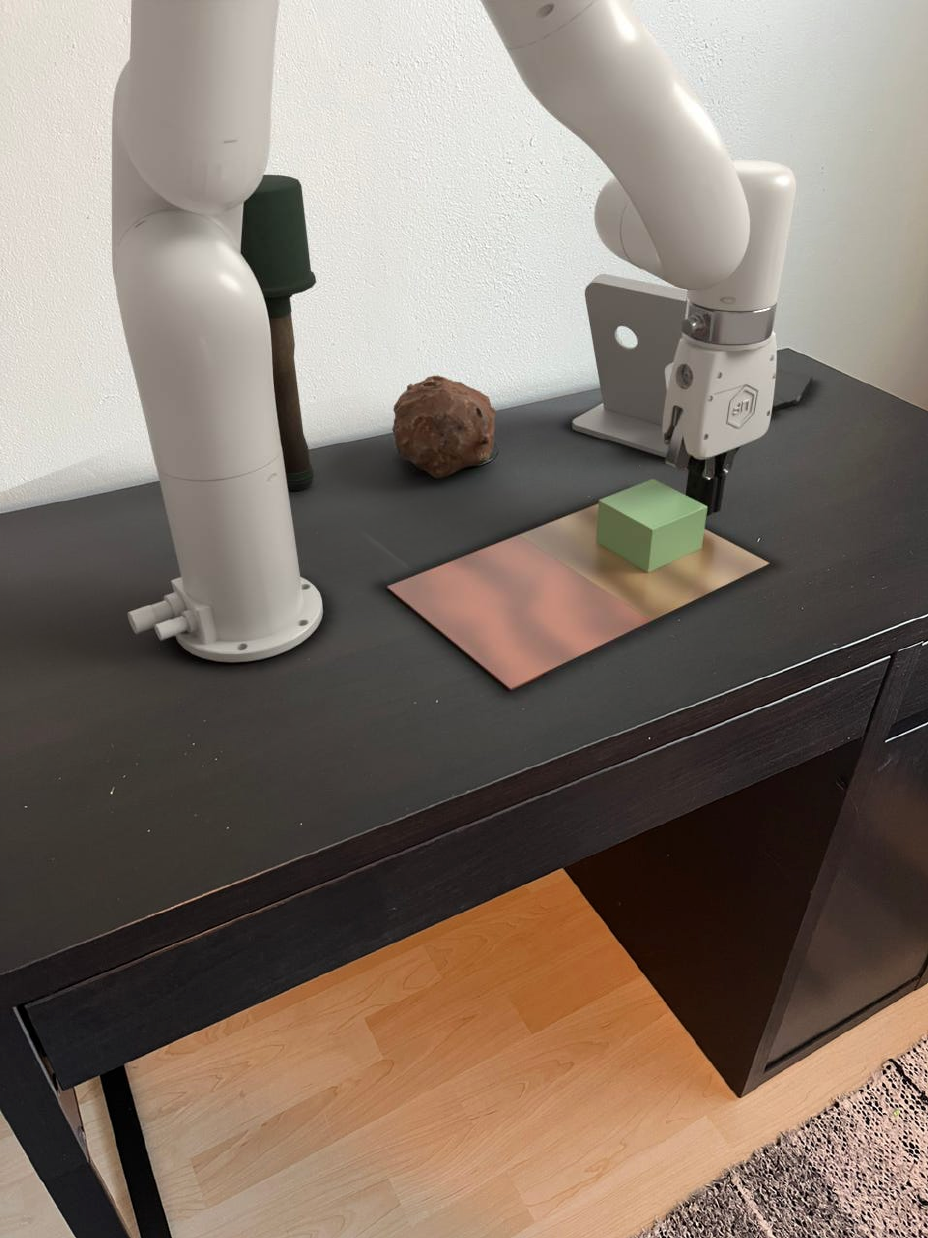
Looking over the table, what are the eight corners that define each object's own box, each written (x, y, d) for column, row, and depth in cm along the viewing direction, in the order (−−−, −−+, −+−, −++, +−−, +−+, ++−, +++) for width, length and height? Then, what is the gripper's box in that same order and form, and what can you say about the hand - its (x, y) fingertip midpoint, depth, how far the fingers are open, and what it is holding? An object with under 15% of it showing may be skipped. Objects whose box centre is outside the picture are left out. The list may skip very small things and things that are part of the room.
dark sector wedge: (717, 408, 117) (719, 395, 116) (750, 371, 127) (752, 359, 126) (786, 420, 114) (789, 408, 113) (814, 382, 123) (816, 370, 122)
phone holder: (741, 438, 110) (767, 278, 99) (697, 469, 104) (720, 302, 93) (614, 401, 119) (625, 251, 109) (566, 428, 113) (573, 272, 103)
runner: (510, 690, 74) (510, 688, 74) (386, 588, 86) (386, 586, 86) (769, 564, 88) (769, 562, 88) (631, 491, 100) (631, 490, 100)
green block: (647, 573, 87) (652, 529, 84) (595, 541, 91) (598, 499, 89) (701, 548, 90) (707, 506, 87) (648, 519, 95) (652, 478, 92)
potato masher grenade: (344, 467, 106) (314, 172, 89) (327, 505, 99) (291, 192, 82) (269, 465, 107) (225, 172, 89) (247, 502, 100) (194, 192, 82)
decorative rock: (508, 487, 101) (508, 397, 95) (402, 499, 100) (397, 408, 94) (481, 436, 112) (480, 352, 106) (385, 446, 110) (379, 361, 104)
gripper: (700, 351, 76) (675, 548, 87) (820, 313, 83) (783, 500, 94) (634, 327, 82) (618, 516, 92) (752, 293, 88) (725, 473, 99)
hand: (702, 508), depth 93 cm, fingers closed
